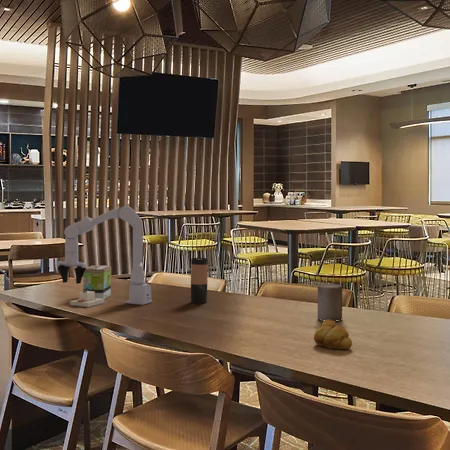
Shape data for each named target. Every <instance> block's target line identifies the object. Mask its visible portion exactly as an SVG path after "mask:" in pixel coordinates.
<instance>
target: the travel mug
mask: <svg viewBox="0 0 450 450" xmlns="http://www.w3.org/2000/svg"><path fill="white" fill-rule="evenodd" d="M190 261H191V262H190V302H191V304H198V303H201V304H206V303H207V299H208V277H209V276H208V271H209V270H208V268H209V266H208V261H209V259H208V258H207V257H191V259H190Z"/></svg>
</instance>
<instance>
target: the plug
mask: <svg viewBox="0 0 450 450" xmlns="http://www.w3.org/2000/svg"><path fill="white" fill-rule="evenodd" d="M79 299H80V300H84V301H85V302H89V301H93V300H95V292H94V291H86V290H84V291H83V290H82V291H80V292H79Z"/></svg>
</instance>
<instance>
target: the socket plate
mask: <svg viewBox="0 0 450 450" xmlns="http://www.w3.org/2000/svg"><path fill="white" fill-rule="evenodd" d="M104 304H105V299H99V298H95V300H93V301H89V302H85V301H84V300H80V298H77V299H74V300H73V299H72V300H70V301H69V306H71V307H80V308H87V309H89V308H92V307H95V306H96V307H97V306H100V305H104Z"/></svg>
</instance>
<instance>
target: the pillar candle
mask: <svg viewBox="0 0 450 450" xmlns="http://www.w3.org/2000/svg"><path fill="white" fill-rule="evenodd" d="M318 319H321V320H328V319H330V320H333V321H336V320H341V319H342V320H343V285H342V284H338V283H331V282H330V283H320V284H317V320H318Z"/></svg>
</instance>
